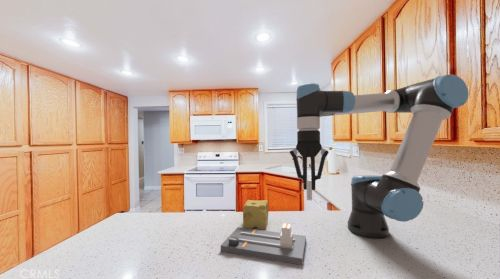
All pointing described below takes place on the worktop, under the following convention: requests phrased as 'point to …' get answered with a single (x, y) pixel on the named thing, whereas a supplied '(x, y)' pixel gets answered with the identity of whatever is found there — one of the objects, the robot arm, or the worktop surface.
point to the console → (265, 245)
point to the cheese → (255, 214)
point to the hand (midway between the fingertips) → (309, 199)
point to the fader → (286, 235)
